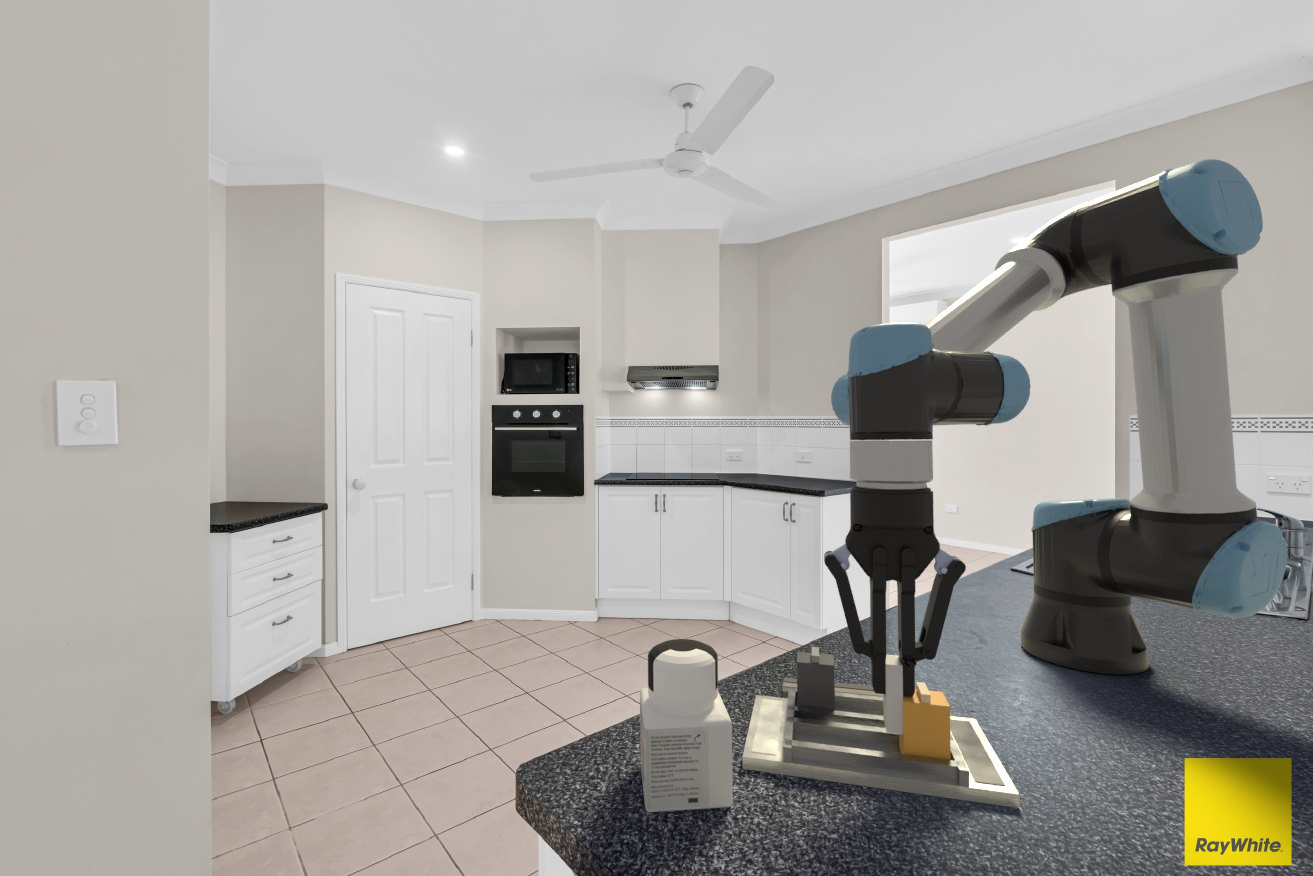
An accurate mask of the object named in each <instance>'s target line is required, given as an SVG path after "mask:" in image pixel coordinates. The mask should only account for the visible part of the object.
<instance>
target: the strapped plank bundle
mask: <svg viewBox="0 0 1313 876" xmlns="http://www.w3.org/2000/svg"><path fill="white" fill-rule="evenodd" d="M782 681H783V682H782V690H781V694H782V696H781V698H788V692H789V687H791V688H797V678H793V677H783V680H782ZM835 692H840V693H850V694H859V695H869V696H879V697H883V694H878V693H875V692H874V689H873V686H872V685H863V684H852V683H844V682H835Z"/></svg>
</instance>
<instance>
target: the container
mask: <svg viewBox="0 0 1313 876" xmlns="http://www.w3.org/2000/svg"><path fill="white" fill-rule="evenodd" d="M718 658H719V656H718V653H717V651H716V650H715V649H714V648H713V647H712V646H711V645H709V644H707V643H706V642H702V641H699V640H695V639H689V638H678V639H677V638H676V639H670V640H666V641H662V642H660V643H657V644H656V645H654V646H652V648H651V649H650V650H649V652H648V653H647V687H643V688H641V689H640V691H639V722H640V723H639V724H640V725H639V729H640V730H639V733H640V736H639V739H640V741H639V742H640V743H639V744H640V745H639V747H640V770H641V778H642V789H643V790H642V791H643V798H644V800H643V801H644V808H645V811H646V812H648V813H658V812H659V813H660V812H674V811H677V812H678V811H691V810H707V809H724V808H730V807H732V806H733V722H732V720H731V719H732V718H731V717H730V715H729V713H728V710H727V708H726V706H725V704H724V702H723V699H722V697H721V694H720V692H719V675H718V674H719V668H718V667H719V666H718V665H719V664H718V661H719V660H718Z"/></svg>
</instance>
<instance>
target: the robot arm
mask: <svg viewBox="0 0 1313 876" xmlns="http://www.w3.org/2000/svg"><path fill="white" fill-rule="evenodd" d="M1263 221H1264V220H1263V213H1262V208H1261V205H1260V202H1259V199H1258V196H1257V195H1256V192H1255V190H1254V187H1252V185H1251V183H1250V181H1249V180H1248V179H1247V177H1245V176H1244V174H1243V173H1242V172H1241V171H1240V170H1239V169H1238V168H1237V167H1235V166H1234V165H1233V164H1230V163H1229V162H1226V161H1224V160H1220V159H1212V158H1210V159H1202V160H1198V161H1195V162H1193V163H1189V164H1187V165H1183V166H1179V167H1176V168H1171V169H1170V168H1169V169H1166V170H1165V171H1164V170H1163V171H1162V172H1161V173H1159V174H1157V175H1154V176H1151V177H1149V178H1147V179H1144V180H1141V181H1139V182H1136V183H1133V184H1131V185H1128V186H1126V187H1123V188H1120V189H1118V190H1115V191H1113V192H1111V193H1108V194H1105V195H1103V196H1100V197H1096V198H1094V199H1092V200H1087V201H1085V202H1083V203H1080V204H1078V205H1076V206H1074V207H1071V208H1070V209H1068V210H1066V211H1064V212H1063V213H1061V214H1060V215H1058V216H1055V218H1052V219H1051V220H1050V221H1048V222H1047V223H1046V224H1044V225H1043V226H1041V227H1040V228H1038V229H1037V230H1036V231H1034V232H1033V233H1031V234H1030V235H1029V236H1027V237H1026V238H1024V240H1022V241H1021V242H1019V243H1018V244H1017V245H1015V246H1014V247H1012V249H1010V250H1008V252H1006V253H1005V254H1004V255H1003V256H1001V257H1000V259H999V260H998V261H997V263H996V265H995V267H994V271H993V272H992V273H991V274H989V275H988V276H987V277H986V278H984V279H983V280H982V281H980V282H979V283H977V285H975V286H974V287H972V289H970V290H968V291H967V292H966V293H964V294H963V295H962V296H961V297H959V298H958V299H957V300H955V302H953V303H951V304H950V305H949V306H948V307H947V308H945V309H944V310H942V311H941V312H940V313H939V314H937V315H936V316H934V317H933V318H932V319H931V320H929V321H928V322H927V323H925V325H924V324H921V323H918V322H910V321H909V322H902V321H901V322H889V323H887V322H886V323H881V324H874V325H870V326H866V327H863V328H860V329H859V330H857V331H856V332H855V333H854V334H853V335H852V336H851V338H850V342H849V343H850V344H849V352H848V370H847V372H846V373H844V374H842V375H841V376H840V377H839V378H838V379H837V380H836V381H835V383H834V384H833V387H832V389H831V390H832V391H831V394H830V395H831V396H830V402H831V407H832V409H833V412H834V415H836V417H837V419H838V420H839V421H840V422H842V423H843V424H844V425H845V426H847V427H848V426H849V439H850V441H849V478H850V479H851V480H852V481H853V482H856V485H854V486H852V487H851V489H850V490H849V491H850V492H849V494H850V495H849V498H850V500H849V506H850V511H849V512H850V516H849V517H850V526H849V531H848V533H847V535H846V536H845V544H843V545H841V546H840V547H837V548H836V549H834V550H827V551H826V552H824V555H823V560H824V562H823V563H824V564H825V566H826V567H827V569H828V570H829V572H830V573H831V575H832V577H834V580H835V583H836V586H837V590H838V591H837V592H838V594H839V598H840V602H841V606H842V609H843V613H844V617H845V621H846V624H847V625H846V626H847V629H848V632H849V637H850V641H851V645H852V648H853V651H854V652H855V653H857V654H858V655H864V656H866V657H868V658H870V660H871V661H870V662H871V663H870V665H871V667H870V668H871V673H870V674H871V675H870V676H871V678H870V679H871V686H873V689H874V692H875V693H878V694H883V719H884V723H885V727H886V731H887V733H895V734H903V696H909V697H913V695H914V693H915V689H916V675H915V674H916V673H915V672H916V671H915V670H916V666H917V664H918V662H919V661H923V660H929V661H932V660H934V659H935V658H936V656H937V652H938V649H939V644H940V643H941V642H940V641H941V637H942V634H943V630H944V625H945V622H946V619H947V614H948V611H949V605H950V602H951V599H952V595H953V593H954V592H953V590H954V589H955V588H954V586H955V585H956V583H957V582H958V581H959V580H960V579H961V577H962V576H963V574H964V573H965V572H966V570H967V569H966V568H967V566H966V564H965V563H964V562H963V561H962V560H961V559H960V558H958V557H957V556H956V555H951V554H949V553H947V552H946V551H945V550H943V549H941V544H940V541H939V540H938V538H937V536H936V534H935V528H934V527H935V525H934V521H935V520H934V518H935V517H934V491H932V489H931V487H928V485H927V483H931V482H932V481H933V480H934V459H933V458H934V455H933V449H934V447H933V439H934V436H933V432H934V431H933V430H934V428H933V427H934V426H950V425H951V426H956V425H976V426H990V425H995V424H1004V423H1007V422H1009V421H1012V420H1013V419H1015V418H1017V417H1018V416H1019V415H1020V414H1021V413H1022V412H1023V410H1024V409H1025V407H1026V406H1027V404H1028V401H1029V400H1030V396H1031V379H1030V375H1029V373H1028V371H1027V369H1026V368H1025V366H1024V364H1022V363H1021V362H1020V361H1019V360H1018V359H1017V358H1015V357H1013V356H1010V355H1006V354H1001V353H995V352H991V351H990V350H989V351H988V348H989V347H990V346H992V345H993V344H994V343H996V342H997V341H999V339H1001V338H1002V337H1003V336H1004V335H1006V334H1007V333H1008V332H1009V331H1011V330H1012V329H1013V328H1014V327H1015V326H1017V325H1018V324H1019V323H1020V322H1021V321H1023V320H1024V319H1025V318H1026V317H1028V316H1029V315H1030V314H1031V313H1033V312H1036V311H1042V310H1046V309H1048V308H1049V307H1052V306H1053V305H1055V304H1056V303H1057V302H1059V300H1061V299H1063V298H1065V297H1067V296H1070V295H1073V294H1076V293H1080V292H1084V291H1086V290H1090V289H1094V288H1099V287H1103V286H1108V285H1109V286H1110V285H1111V294H1112V296H1113V297H1114V298H1116V299H1117V300H1119V301H1121V302H1123V303H1125V304H1126V305H1127V307H1128V318H1129V319H1128V320H1129V330H1130V342H1131V353H1132V354H1131V356H1132V365H1133V377H1134V390H1135V391H1134V392H1135V402H1136V414H1137V415H1136V416H1137V425H1138V426H1137V428H1138V437H1139V441H1138V442H1139V451H1140V463H1141V473H1142V474H1141V475H1142V487H1143V488H1142V489H1141V491H1140V492H1139V493H1137V494H1136V495H1135V496H1134V497H1133V498H1131V499H1128V498H1126V497H1124V498H1122V497H1121V498H1119V497H1118V498H1117V497H1115V498H1113V497H1112V498H1111V497H1109V498H1092V499H1091V498H1089V499H1088V498H1087V499H1085V498H1084V499H1070V500H1069V499H1067V500H1051V501H1042V502H1041V503H1039V504H1037V505H1036V506H1035V507H1034V509H1033V516H1032V517H1033V518H1032V527H1031V529H1030V530H1031V532H1032V561H1033V562H1032V563H1033V566H1032V567H1033V573H1032V574H1033V598H1032V601H1031V603H1030V605H1029V607H1028V611H1027V613H1026V616H1025V619H1024V621H1023V624H1022V626H1021V629H1020V646H1021V648H1022V647H1023V648H1022V649H1023V650H1024V649H1025V650H1026V651H1027V653H1028V652H1029V653H1028V654H1030V655H1031V654H1032V655H1031V656H1033V655H1034V657H1035V656H1036V658H1037V659H1040V660H1043V661H1045V662H1048V663H1051V664H1053V665H1058V666H1061V667H1065V668H1069V669H1073V670H1077V671H1083V672H1090V673H1097V674H1098V673H1099V674H1105V675H1106V674H1107V675H1108V674H1109V675H1133V674H1141V673H1143V672H1145V671H1147V670H1148V669H1149V666H1150V665H1149V650H1148V647H1147V644H1146V642H1145V639H1144V637H1143V635H1142V632H1141V630H1140V626H1139V624H1138V622H1137V620H1136V617H1135V615H1134V612H1133V609H1132V597H1136V598H1140V599H1145V600H1150V601H1154V602H1159V603H1162V604H1167V605H1171V606H1176V607H1180V608H1185V609H1188V610H1193V611H1195V612H1196V613H1201V614H1212V615H1218V616H1223V617H1224V616H1225V617H1231V618H1238V619H1239V618H1240V619H1241V618H1247V617H1251V616H1254V615H1256V614H1257V613H1260V612H1261V611H1263V610H1264V609H1265V608H1266V607H1267V606H1268V605H1269V604H1270V603H1271V602H1272V600H1273V599H1274V597H1275V596H1276V594H1277V592H1278V591H1279V589H1280V587H1281V584H1282V582H1283V579H1284V576H1285V574H1286V568H1287V562H1288V546H1287V541H1286V538H1285V537H1284V536H1283V532H1282V530H1281V529H1280V527H1278V526H1277V525H1275V524H1273V523H1270V522H1268V521H1264V520H1259V519H1258V512H1257V503H1256V501H1254V500H1253V499H1252V498H1250V497H1248V496H1247V495H1245V494H1244V493H1242V491H1240V490H1239V489H1238V488H1237V475H1236V474H1237V473H1236V463H1235V461H1236V460H1235V449H1234V448H1235V447H1234V436H1233V423H1232V422H1233V421H1232V410H1231V396H1230V384H1229V382H1230V381H1229V373H1228V360H1227V359H1228V358H1227V345H1226V332H1225V330H1226V329H1225V321H1224V320H1225V319H1224V308H1223V295H1222V294H1223V293H1222V291H1223V289H1224V287H1225V286H1226V285H1227V284H1228V283H1230V281H1232V280H1233V279H1234V278H1235V276H1237V275H1238V273H1239V262H1238V261H1239V260H1238V256H1241V255H1245V254H1246V253H1247V252H1249V251H1251V250H1253V249H1254V248H1255V247H1256V246H1257V245H1258V244H1259V241H1260V240H1261V235H1260V234H1261V233H1262V232H1263V228H1264V227H1263V223H1264V222H1263ZM986 350H987V351H986ZM850 556H852V557H853V559H854V560H855V561H856V562H857V564H858V565H859V566H860V568H861V569H862V570H863V571H862V572H864V573H865V574H866V576H867V577H869V590H870V591H869V595H870V596H869V597H870V598H869V600H870V601H869V603H870V605H869V609H870V610H869V613H870V614H869V615H870V617H869V619H870V620H869V621H870V626H869V627H870V639H869V638H868V637H864V633H863V629H862V625H861V621H860V617H859V614H858V610H857V606H856V603H855V598H854V595H853V591H852V587H851V583H850V579H849V576H848V573H847V571H848V569H850V566H851V563H850V560H849V558H850ZM933 560H934V565H933V569H934V570H935V572H936V574H935V576H934V579H933V582H932V585H931V591H930V594H929V599H928V602H927V607H926V610H925V613H924V618H923V622H922V625H921V629H920V633H919V637H918V641H916V598H915V597H916V580H917V579H918V578H919V577H921V575H922V574H923V573H924V571H925V570H926V569H927V568H928V566H929V565H930V564H931V563H932V561H933ZM890 581H895V582H896V586H897V588H896V589H897V650H898V655H897V654H887V595H886V594H887V582H890ZM1025 650H1024V651H1025ZM1026 651H1025V652H1026Z"/></svg>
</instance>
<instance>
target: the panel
mask: <svg viewBox="0 0 1313 876" xmlns="http://www.w3.org/2000/svg"><path fill="white" fill-rule="evenodd" d="M747 730H748V731H747V735H746V739H745V744H744V749H743V753H742V769H743V770H749V771H755V772H756V771H757V772H763V773H769V774H776V775H783V776H791V777H798V778H803V779H804V778H806V779H812V780H819V781H825V782H826V781H827V782H832V783H840V784H848V785H855V786H859V787H860V786H861V787H868V788H877V789H883V790H888V791H890V790H891V791H897V792H901V793H902V792H903V793H904V792H905V793H910V794H917V795H918V794H919V795H925V796H932V797H936V798H937V797H939V798H946V799H952V800H959V801H966V802H973V803H981V804H988V805H993V806H994V805H996V806H1003V807H1009V808H1016V809H1020V793H1019V791H1018V789H1017V788H1016V785H1014V782H1013V781H1012V778H1011V777H1010V776H1009V773H1007V771H1006V769H1005V767H1004V766H1003V763H1002V762H1001V760H1000V759H999V756H998V755H997V753H996V752H995V750H994V749H993V746H992V745H991V744H990V742H989V740H988V738H987V737H986V736H987V735H986V734H985V733H984V731H983V729H982V728H981V726H980V724H979V722H978V720H977V719H976V718H972V717H964V716H954V715H953V716H952V715H950V749H951V760H945V759H937V758H929V757H922V756H914V755H906V754H901V752H900V749H899V734H895V733H887V731H886V727H885V723H884V719H883V697H879V696H869V695H859V694H850V693H840V692H835V710H826V709H817V708H808V707H799V706H797V688H791V687H789V692H788V698H782V697H779V696H768V695H760V694H756V695H755V698H754V704H753V708H752V713H751V717H750V721H749V726H748V729H747Z"/></svg>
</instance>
